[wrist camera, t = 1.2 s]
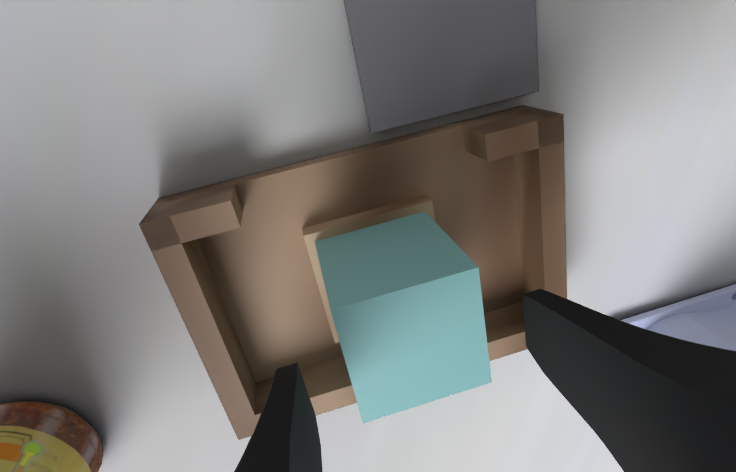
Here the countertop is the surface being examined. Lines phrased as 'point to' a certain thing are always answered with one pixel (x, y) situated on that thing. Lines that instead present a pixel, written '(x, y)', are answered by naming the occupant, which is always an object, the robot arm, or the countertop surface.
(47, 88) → the countertop surface
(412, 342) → the teal block
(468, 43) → the rubber mat
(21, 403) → the sauce bottle
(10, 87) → the countertop surface
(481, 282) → the parts box
